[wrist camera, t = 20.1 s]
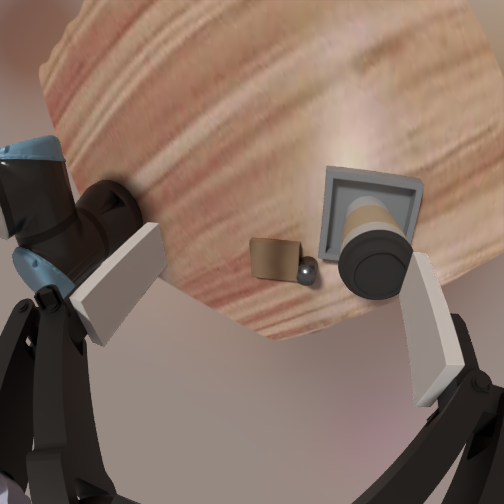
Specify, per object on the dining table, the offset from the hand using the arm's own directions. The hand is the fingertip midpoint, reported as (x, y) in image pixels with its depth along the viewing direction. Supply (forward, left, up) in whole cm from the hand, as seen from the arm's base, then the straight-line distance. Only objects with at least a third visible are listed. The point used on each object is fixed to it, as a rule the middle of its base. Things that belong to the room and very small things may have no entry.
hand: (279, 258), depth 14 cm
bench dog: (+1, -20, -29) cm, 35 cm away
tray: (+9, -10, -29) cm, 32 cm away
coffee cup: (+9, -10, -28) cm, 31 cm away
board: (-5, -20, -29) cm, 35 cm away
